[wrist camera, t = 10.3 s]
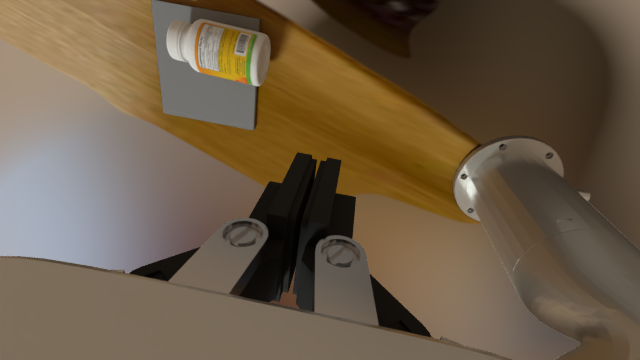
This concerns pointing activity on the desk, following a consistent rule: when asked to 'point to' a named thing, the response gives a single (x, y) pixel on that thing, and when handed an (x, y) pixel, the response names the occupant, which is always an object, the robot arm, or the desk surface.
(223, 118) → the rubber mat
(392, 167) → the desk surface
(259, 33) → the supplement bottle
